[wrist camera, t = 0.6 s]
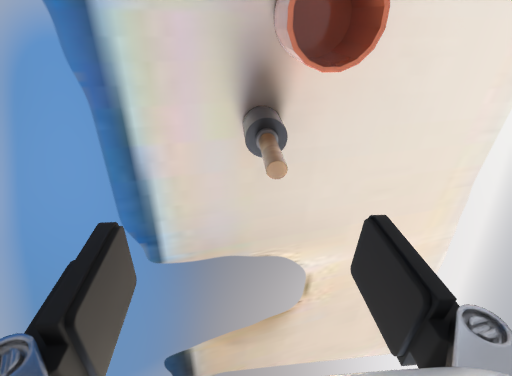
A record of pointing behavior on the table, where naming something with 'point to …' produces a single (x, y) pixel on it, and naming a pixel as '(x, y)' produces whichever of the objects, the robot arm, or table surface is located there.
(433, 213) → the table surface
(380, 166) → the table surface
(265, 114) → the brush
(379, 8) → the tumbler
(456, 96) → the table surface
